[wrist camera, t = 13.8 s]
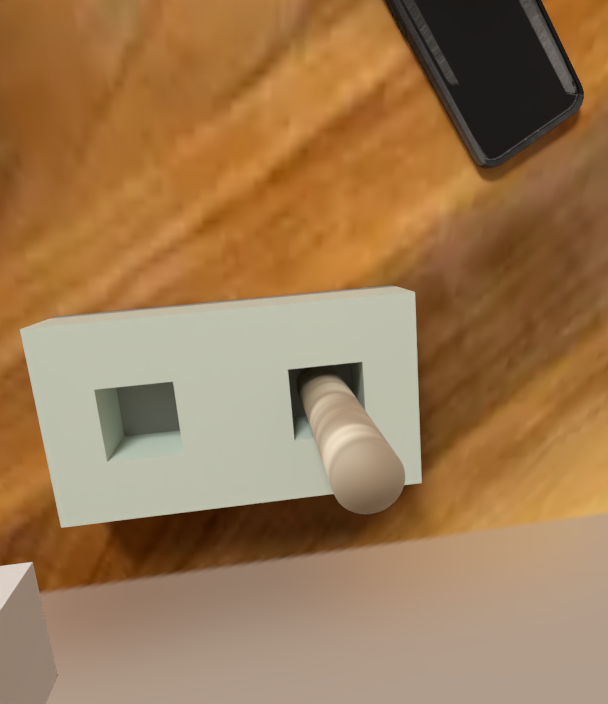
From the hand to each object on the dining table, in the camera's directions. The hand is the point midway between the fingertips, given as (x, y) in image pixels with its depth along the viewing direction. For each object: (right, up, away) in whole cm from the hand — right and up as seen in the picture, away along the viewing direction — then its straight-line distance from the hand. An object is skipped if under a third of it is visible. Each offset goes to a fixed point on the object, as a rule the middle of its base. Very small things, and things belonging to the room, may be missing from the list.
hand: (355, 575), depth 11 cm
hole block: (-6, +2, +23) cm, 24 cm away
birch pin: (0, +3, +23) cm, 23 cm away
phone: (+9, +25, +21) cm, 34 cm away
